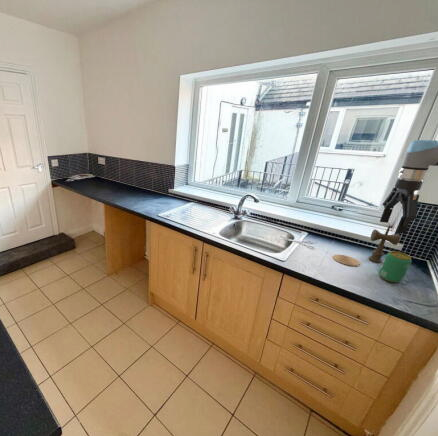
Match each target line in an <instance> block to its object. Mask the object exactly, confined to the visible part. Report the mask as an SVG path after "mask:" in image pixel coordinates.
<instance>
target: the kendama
mask: <svg viewBox="0 0 438 436" xmlns="http://www.w3.org/2000/svg"><path fill="white" fill-rule="evenodd" d="M390 230H391V225H388V227H387V229H386V231H385V233H382V232H380V231H379V230H377V228H376V229H375V228H374V229H373V230H372V231H371V234H370V241H371V242H375V241H380V242H379V243H378V245H377V247H376V248H375V249H374V250H372V251H371V253H372V254H371V255H370V256H368V259H369V261H371V262H374V263H379V264H380V263H383V260H382V257H383V256H384V255H385V253H384V247H385V243H386V241H387V242H389V243H391V244H392V245H393V246H397V245H398V244H399V242H400V238H401V236H400V233H393V234H389V233H390Z"/></svg>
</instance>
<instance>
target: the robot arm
mask: <svg viewBox="0 0 438 436" xmlns="http://www.w3.org/2000/svg"><path fill="white" fill-rule="evenodd" d="M430 166H432V167H434V166H437V167H438V140H437V139H415V140H412V141H411V143H410V144H409V146H408V148H407V150H406V153H405V157H404V160H403V162H402V165H401V168H400V170H399V171H398V176H397V177H398V178H397V179H396V181H395V183H394V187H392V189H391V192H390V193H389V194H388V196H387V197H386V198H385V200H384V201H383V203H382V206H383V207H384V209H383V210H382V211H383V212H382V214H381V217H380V219H379V223H387V224H388V223H389V221H390V218H391V215H392V213H393V209H394V207H395V206H396V205H397V204H398V203H400V204H401V208H402V209H401V210H402V216H401V217H400V220H399V222H398V225H397V227H396V230H395V234H402V235H405V234H406V232H407V230H408V228H409V224H410V223H411V220H416V219H417V216H418V203H419V198H420V194H417V193H415V192H417V191H420V190H421V188H422V185H423V183H424V182H423V181H424V180H425V178H426V176H427V173H428V171H429V169H430Z"/></svg>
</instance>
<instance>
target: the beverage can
mask: <svg viewBox="0 0 438 436" xmlns="http://www.w3.org/2000/svg"><path fill="white" fill-rule="evenodd" d="M412 261H413V260H412V257H411V256H410V255H409V254H407V253H404V252H401V251H396V250H391V251H389V252H387V253H386V255H385V257H384V259H383V260H382V264H381V266H380V268H379V270H378V276H379V277H380V278H381V279H383V280H386V281H388V282H391V283H400V282H402V281H403V280H404V278H405V276H406V274H407V272H408V270H409V268H410V266H411V265H412Z"/></svg>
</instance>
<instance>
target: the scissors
mask: <svg viewBox="0 0 438 436" xmlns="http://www.w3.org/2000/svg"><path fill="white" fill-rule="evenodd" d="M279 237H281V238H282V240H283V241H286V240H287V241H289V242H294V243H297V242H298V243H297V244H300V245H303V246H304V247H306V248H307V249H310V250H315V246H313V245H314V244H317V243H318V241H313V240H295V239H291V238H288V237H284V236H281V235H280V236H279ZM305 243H307V244H305ZM308 244H310V245H308Z"/></svg>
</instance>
